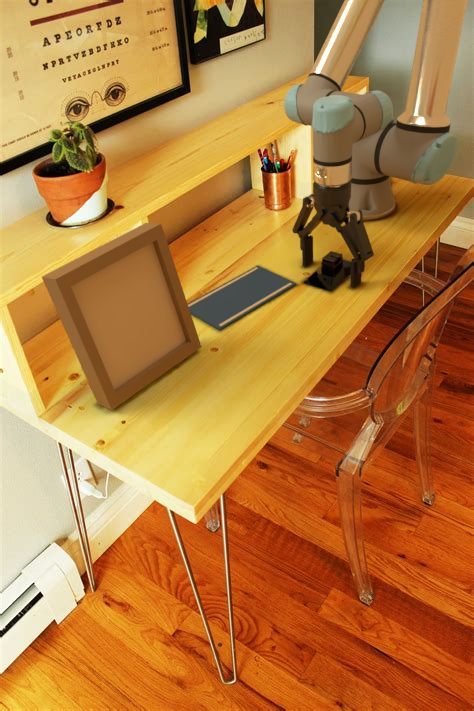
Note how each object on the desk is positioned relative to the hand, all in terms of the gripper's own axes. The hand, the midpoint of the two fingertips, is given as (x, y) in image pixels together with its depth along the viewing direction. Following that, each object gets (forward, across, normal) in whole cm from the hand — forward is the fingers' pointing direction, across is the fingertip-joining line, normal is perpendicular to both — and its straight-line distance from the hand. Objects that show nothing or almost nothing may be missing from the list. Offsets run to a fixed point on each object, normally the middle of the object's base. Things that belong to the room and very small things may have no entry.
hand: (331, 274), depth 137 cm
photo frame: (+1, -7, -48) cm, 48 cm away
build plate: (0, 0, 0) cm, 0 cm away
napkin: (0, -9, -19) cm, 21 cm away
